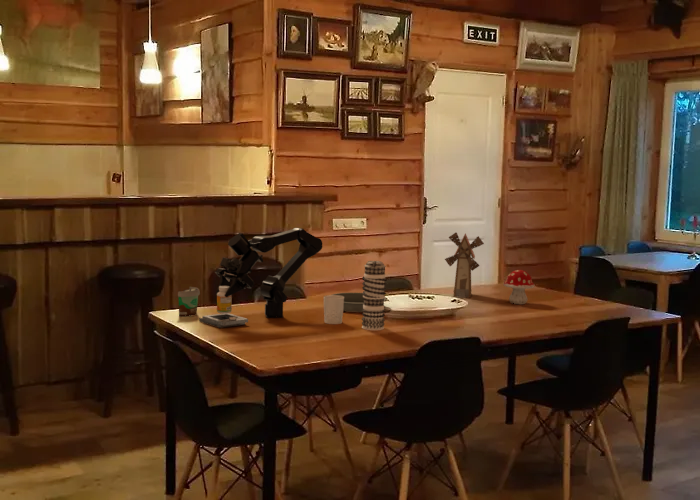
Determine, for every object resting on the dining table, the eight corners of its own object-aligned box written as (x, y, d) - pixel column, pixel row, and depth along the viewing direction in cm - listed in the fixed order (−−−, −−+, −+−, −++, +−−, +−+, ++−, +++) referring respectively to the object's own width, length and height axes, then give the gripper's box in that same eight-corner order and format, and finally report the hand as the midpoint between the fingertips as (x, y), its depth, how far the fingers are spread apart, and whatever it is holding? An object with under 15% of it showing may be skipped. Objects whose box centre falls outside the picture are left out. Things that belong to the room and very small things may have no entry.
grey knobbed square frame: (199, 321, 311) (199, 313, 311) (224, 318, 319) (224, 309, 318) (223, 328, 300) (223, 320, 299) (248, 325, 307) (248, 316, 307)
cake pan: (316, 306, 350) (316, 295, 350) (359, 300, 366) (359, 290, 366) (354, 315, 332) (354, 304, 331) (398, 309, 348) (398, 299, 347)
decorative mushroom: (501, 299, 377) (503, 267, 376) (532, 301, 376) (534, 268, 374) (502, 305, 364) (504, 271, 362) (535, 306, 362) (537, 272, 360)
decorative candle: (368, 331, 302) (370, 263, 299) (356, 326, 310) (358, 260, 308) (389, 329, 307) (392, 262, 304) (377, 324, 315) (379, 259, 312)
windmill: (442, 296, 380) (445, 232, 376) (444, 292, 393) (446, 229, 389) (481, 299, 377) (484, 233, 374) (481, 294, 390) (484, 231, 386)
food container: (192, 318, 317) (192, 292, 316) (177, 317, 318) (177, 291, 317) (204, 312, 329) (204, 287, 328) (190, 311, 330) (190, 286, 329)
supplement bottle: (217, 310, 311) (217, 285, 310) (231, 310, 312) (232, 285, 310) (216, 313, 306) (216, 287, 305) (231, 313, 306) (231, 287, 305)
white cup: (346, 321, 318) (347, 296, 317) (338, 325, 311) (338, 299, 310) (328, 319, 322) (329, 294, 320) (319, 323, 315) (320, 297, 313)
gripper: (219, 247, 315) (194, 278, 309) (247, 252, 302) (222, 285, 296) (236, 265, 322) (212, 296, 316) (265, 271, 308) (240, 304, 302)
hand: (221, 295), depth 307 cm, fingers closed on supplement bottle, 5 cm apart
